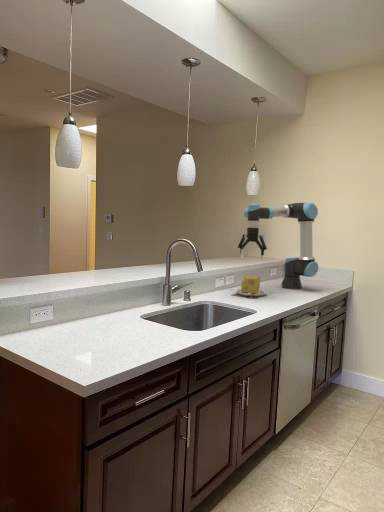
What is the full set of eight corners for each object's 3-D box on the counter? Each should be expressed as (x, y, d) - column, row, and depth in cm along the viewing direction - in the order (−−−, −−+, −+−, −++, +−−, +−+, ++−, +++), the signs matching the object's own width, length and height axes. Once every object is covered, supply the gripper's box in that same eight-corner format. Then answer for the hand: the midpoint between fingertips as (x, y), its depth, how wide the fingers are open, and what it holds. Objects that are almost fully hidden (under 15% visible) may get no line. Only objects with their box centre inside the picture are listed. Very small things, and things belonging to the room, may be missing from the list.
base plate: (244, 291, 276) (244, 290, 276) (267, 295, 266) (267, 293, 266) (230, 295, 261) (231, 294, 261) (255, 299, 251) (255, 297, 251)
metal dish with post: (231, 292, 266) (231, 279, 265) (250, 290, 276) (251, 278, 275) (249, 297, 251) (249, 283, 251) (269, 295, 261) (269, 281, 261)
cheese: (240, 292, 257) (241, 277, 255) (245, 288, 267) (245, 274, 265) (256, 294, 253) (256, 279, 251) (260, 290, 262) (260, 275, 261)
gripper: (233, 226, 260) (232, 258, 262) (267, 228, 245) (266, 261, 247) (239, 226, 266) (238, 257, 268) (272, 228, 251) (271, 260, 253)
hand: (251, 259), depth 258 cm, fingers open, 13 cm apart
